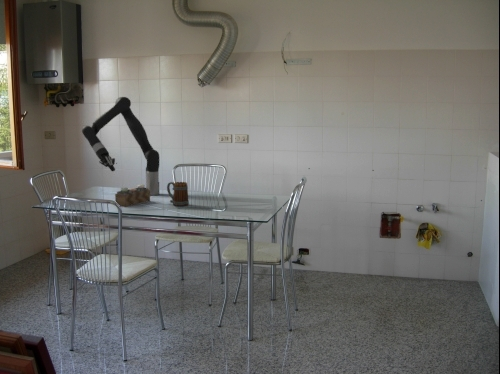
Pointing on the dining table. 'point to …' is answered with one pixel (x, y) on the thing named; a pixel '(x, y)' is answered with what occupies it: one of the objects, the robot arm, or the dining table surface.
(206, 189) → the dining table surface
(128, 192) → the wooden egg crate
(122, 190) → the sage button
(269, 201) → the dining table surface
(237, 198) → the dining table surface
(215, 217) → the dining table surface
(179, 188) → the mug
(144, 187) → the cream egg
